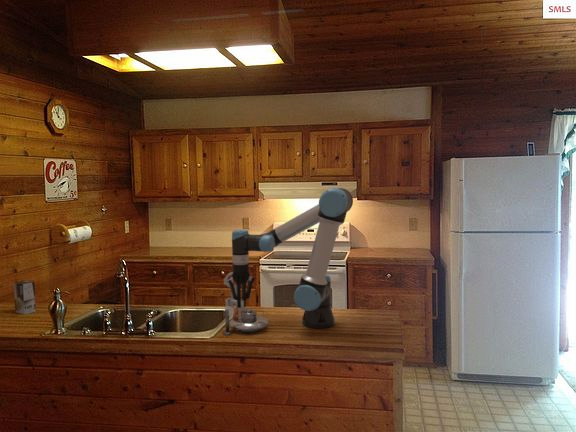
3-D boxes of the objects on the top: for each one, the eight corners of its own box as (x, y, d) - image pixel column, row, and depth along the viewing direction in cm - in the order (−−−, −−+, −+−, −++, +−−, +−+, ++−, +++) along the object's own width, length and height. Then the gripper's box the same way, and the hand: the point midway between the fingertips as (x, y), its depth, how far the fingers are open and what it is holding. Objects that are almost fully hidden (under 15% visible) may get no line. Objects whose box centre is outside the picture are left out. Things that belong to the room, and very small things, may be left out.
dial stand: (225, 335, 205) (225, 309, 204) (221, 333, 208) (220, 307, 207) (234, 333, 207) (234, 307, 206) (230, 331, 210) (229, 306, 210)
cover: (251, 317, 218) (250, 306, 218) (259, 320, 213) (259, 309, 213) (238, 320, 214) (238, 309, 214) (246, 323, 208) (246, 312, 208)
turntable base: (267, 328, 215) (267, 323, 215) (251, 335, 205) (251, 330, 205) (247, 324, 222) (247, 320, 222) (230, 330, 212) (230, 326, 212)
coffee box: (36, 311, 250) (35, 281, 249) (24, 314, 244) (22, 283, 243) (27, 309, 255) (25, 280, 254) (14, 312, 249) (13, 282, 248)
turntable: (255, 317, 225) (255, 301, 224) (275, 325, 211) (274, 308, 210) (223, 323, 215) (223, 306, 215) (241, 332, 201) (241, 315, 201)
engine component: (243, 314, 239) (246, 309, 249) (242, 274, 238) (246, 270, 248) (222, 314, 240) (226, 309, 250) (221, 274, 239) (225, 270, 249)
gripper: (229, 266, 210) (230, 318, 212) (256, 263, 216) (257, 314, 218) (224, 263, 217) (225, 313, 219) (250, 261, 223) (251, 310, 224)
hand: (241, 314), depth 218 cm, fingers closed
